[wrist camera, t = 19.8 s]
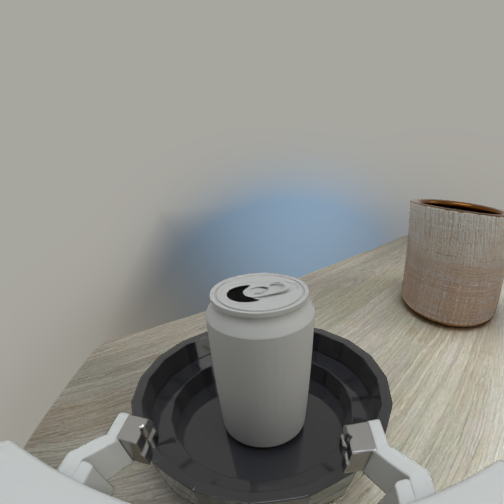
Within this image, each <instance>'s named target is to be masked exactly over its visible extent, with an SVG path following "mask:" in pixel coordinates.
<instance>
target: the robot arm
mask: <svg viewBox="0 0 504 504" xmlns="http://www.w3.org/2000/svg"><path fill="white" fill-rule="evenodd" d="M153 425H154V423H153V421H152V419H149V418H144V417H140V416H135V415H132V414H128V413H123V412H121V413H119V414H118V416H117V418H116V419H115V421H114V423H113V424H112V426H111V428H110V430H109V431H108V433H107V435H102V436H100V437H98V438H97V439H95V440H93V441H91V442H89V443H87V444H85V445H83V446H81V447H79V448H77V449H74V450H72V451H70V452H68V453H67V455H66V457H65V458H64V460H63V461H62V463H61V465H60V466H59V468H58V469H57V470H56V469H54V468H52V467H51V466H49V465H47V464H46V463H44V462H42V461H41V460H39V459H38V458H36V457H35V456H33V455H32V454H30V453H29V452H27V451H26V450H24V449H23V448H21V447H20V446H19V445H17V444H16V443H14V442H12V441H11V440H5V441H1V442H0V504H132V503H129V502H126V501H124V500H121V499H118V498H115V497H113V496H112V494H113V492H114V487H113V486H112V485H111V484H110V483H109V482H108V481H107V480H109V479H110V478H112V477H113V476H114V475H116V474H117V473H118V472H120V471H121V470H123V469H124V468H125V467H127V466H128V465H129V464H131V463H132V462H133V461H137V462H141V463H145V464H149V465H150V462H151V460H152V457H153V455H154V453H153V451H152V450H153V449H154V448H156V447H157V445H158V442H159V434H158V431H157V429H156V428H154V427H153ZM342 431H343V434H341V435H340V439H339V450H340V454H341V455H342V456H343V459H342V468H343V474H344V473H351V472H358V471H362V472H363V473H364V474H365V475H367V476H368V477H369V478H370V479H371V480H372V481H373V482H374V483H375V484H376V485H377V486H378V487H379V488H380V489H381V490H382V491H383V492H385V493H386V495H385V496H384V497H383V498H382V499H381V500H380V501H379V502H378V504H504V461H503V460H498V461H496V462H494V463H492V464H491V465H489V466H487V467H486V468H484V469H482V470H481V471H479V472H477V473H475V474H474V475H472V476H470V477H468V478H466V479H464V480H462V481H460V482H458V483H456V484H454V485H452V486H450V487H448V488H446V489H443V490H441V491H439V492H437V493H436V490H435V487H434V484H433V481H432V478H431V476H430V473H429V470H427V469H425V468H424V467H422V466H421V465H419V464H418V463H416V462H415V461H413V460H412V459H410V458H409V457H407V456H406V455H404V454H403V453H401V452H400V451H398V450H397V449H395V448H394V447H393V446H392V447H389V445H388V442H387V439H386V436H385V433H384V430H383V427H382V425H381V422H380V420H379V419H375V420H371V421H363V422H358V423H352V424H345V425H344V426H343V429H342Z"/></svg>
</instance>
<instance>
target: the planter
mask: <svg viewBox="0 0 504 504" xmlns="http://www.w3.org/2000/svg"><path fill="white" fill-rule="evenodd" d="M409 220H410V221H409V234H408V245H407V254H406V262H405V270H404V277H403V283H402V297H403V299H404V301H405V303H406V304H407V305H408V306H409V307H410V308H411V309H412V310H413V311H414V312H416V313H417V314H419V315H421V316H422V317H424V318H426V319H428V320H430V321H433V322H436V323H439V324H442V325H447V326H453V327H471V326H476V325H479V324H482V323H484V322H486V321H488V320H489V319H490V318H491V317H492V316H493V315H494V313H495V310H496V307H497V304H498V300H499V296H500V292H501V288H502V283H503V278H504V211H502V210H499V209H496V208H491V207H487V206H482V205H477V204H472V203H465V202H457V201H449V200H438V199H437V200H436V199H414V200H412V201H410V219H409Z"/></svg>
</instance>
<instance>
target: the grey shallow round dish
mask: <svg viewBox="0 0 504 504" xmlns="http://www.w3.org/2000/svg"><path fill="white" fill-rule="evenodd" d="M131 404H132V415H135V416H140V417H144V418H149V419H152V421H153V423H154V425H153V427H154V428H156V429H157V431H158V434H159V442H158V445H157V447H156V448H154V449H153V450H152V451H153V453H154V455H153V457H152V460H151V461H152V463H153V464H154V466H155V467H156V468H157V470H158V471H159V473H160V474H161V476H162V477H163V478H164V480H165V481H166V482H167V484H168V485H169V486H170V488H171V489H172V490H173V491H174V492H176V493H177V494H179V495H180V496H182V497H183V498H185V499H186V500H188V501H189V502H191V503H193V504H328V503H330V502H332V501H333V500H335V499H337V498H339V497H341V496H342V495H343V494H345V493H346V491H347V490H348V489H349V488H350V487H351V486H352V485H353V484H354V483H355V482H356V481H357V480H358V478H359V477H360V476H361V475H362V474H363V472H362V471H358V472H351V473H344V474H343V468H342V459H343V456H342V455H341V454H340V450H339V439H340V435H341V434H343V431H342V429H343V426H344V425H345V424H352V423H358V422H363V421H371V420H375V419H379V420H380V422H381V425H382V427H383V430H384V433H386V429H387V426H388V422H389V418H390V414H391V409H392V399H391V395H390V390H389V386H388V381H387V377H386V376H385V374H384V373H383V372H382V370H381V369H380V368H379V366H378V365H377V363H376V362H375V361H374V359H373V358H372V357H371V356H370V355H369V354H368V353H366V352H365V351H364V350H362V349H361V348H359V347H358V346H356V345H355V344H354V343H352V342H351V341H349V340H347V339H345V338H342V337H340V336H337V335H335V334H332V333H330V332H327V331H325V330H322V329H317V328H314V333H313V347H312V359H311V370H310V380H309V390H308V399H307V407H306V415H305V422H304V425H303V427H302V429H301V430H300V432H299V433H298V434H297V435H296V436H295V437H294V438H292V439H291V440H289V441H288V442H286V443H283V444H281V445H278V446H273V447H253V446H249V445H246V444H243V443H241V442H239V441H237V440H236V439H235V438H233V437H232V436H231V435H230V434H229V432H228V431H227V429H226V427H225V425H224V420H223V415H222V410H221V405H220V400H219V395H218V389H217V384H216V378H215V373H214V367H213V361H212V355H211V348H210V342H209V336H208V332H205V333H202V334H200V335H197V336H195V337H192V338H190V339H187V340H185V341H182V342H180V343H179V344H177V345H176V346H174V347H173V348H171V349H170V350H168V351H167V352H165V353H164V354H162V355H161V356H159V357H158V358H157V359H156V360H155V361H154V363H153V364H152V365H151V366H150V367H149V368H148V370H147V371H146V372H145V373H144V374H143V375H142V376H141V378H140V380H139V383H138V385H137V388H136V391H135V394H134V396H133V399H132V403H131Z"/></svg>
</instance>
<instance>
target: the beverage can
mask: <svg viewBox="0 0 504 504" xmlns="http://www.w3.org/2000/svg"><path fill="white" fill-rule="evenodd" d="M210 301H211V303H210V304H209V306H208V308H207V311H206V322H207V329H208V336H209V342H210V348H211V355H212V361H213V367H214V373H215V378H216V384H217V389H218V395H219V400H220V405H221V410H222V415H223V420H224V425H225V427H226V429H227V431H228V432H229V434H230V435H231V436H232V437H233V438H235V439H236V440H237V441H239V442H241V443H243V444H246V445H249V446H253V447H273V446H278V445H281V444H283V443H286V442H288V441H289V440H291V439H292V438H294V437H295V436H296V435H297V434H298V433H299V432H300V430H301V429H302V427H303V425H304V422H305V415H306V407H307V399H308V390H309V380H310V370H311V359H312V347H313V333H314V317H315V308H314V306H313V304H312V302H311V300H310V299H309V288H308V286H307V285H306V284H305V283H304V282H303V281H301V280H299V279H297V278H294V277H292V276H288V275H283V274H274V273H253V274H246V275H240V276H235V277H232V278H229V279H226V280H223V281H222V282H220V283H218V284H216V285H215V286H214V287H213V288H212V289H211V292H210Z"/></svg>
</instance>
